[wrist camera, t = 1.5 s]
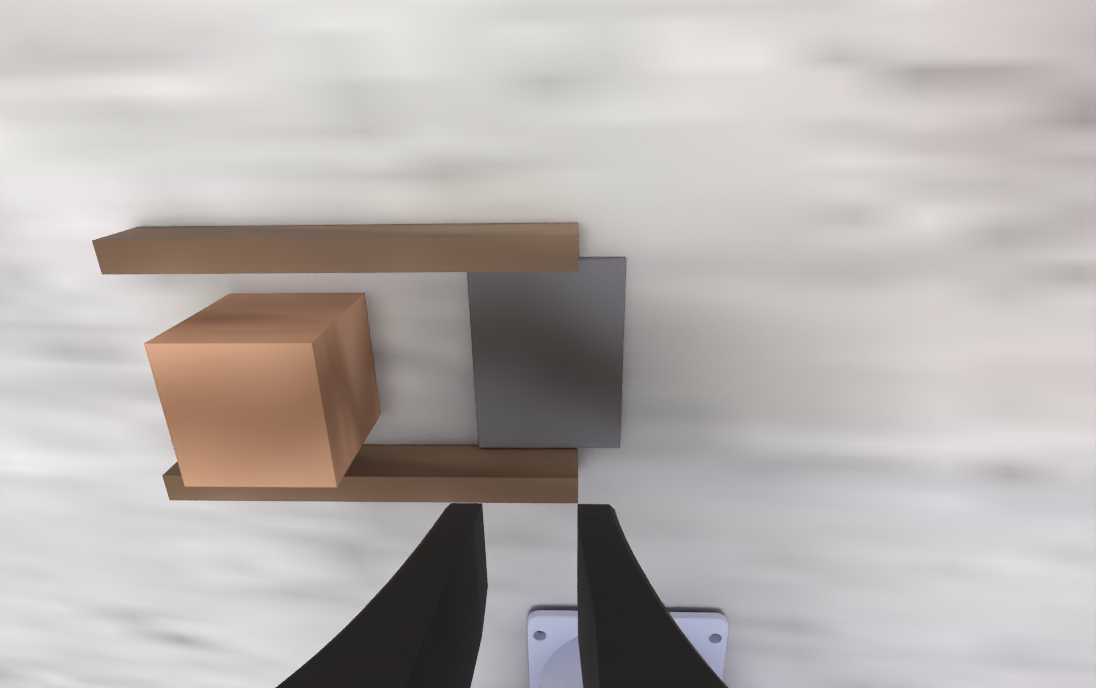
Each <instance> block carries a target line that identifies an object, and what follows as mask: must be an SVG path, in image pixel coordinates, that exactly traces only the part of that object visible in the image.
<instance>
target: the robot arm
mask: <svg viewBox="0 0 1096 688" xmlns="http://www.w3.org/2000/svg"><path fill="white" fill-rule="evenodd" d="M487 588H488V582H487V568H486V553H485V538H484V524H483V509H482V504H478V503H451V504H450V505H449V506H448V507H447V508H446V509H445V510H444V512H443V513H442V514H441V516H440V517H439V519H438V520H437V521H436V523H435V524H434V526H433V527H432V528H431V530H430V531H429V532H428V534H427V535H426V536H425V538H424V539H423V540H422V541H421V543H420V544H419V545H418V547H417V548H416V549H415V550H414V552H413V553H412V554H411V555H410V557H409V558H408V559H407V560H406V561H405V563H404V564H403V565H402V566H401V567H400V569H399V570H398V571H397V572H396V573H395V575H394V576H393V577H392V578H391V579H390V580H389V582H388V583H387V584H386V585H385V586H384V587H383V588H382V589H381V590H380V591H379V593H378V594H377V595H376V596H375V597H374V598H373V599H372V600H371V601H370V602H369V603H368V604H367V606H366V607H365V608H364V609H363V610H362V611H361V612H360V613H359V614H358V615H357V616H356V617H355V618H354V619H353V620H352V621H351V622H350V623H349V624H348V625H347V626H346V627H345V628H344V629H343V630H342V631H341V632H340V633H339V634H338V635H337V636H336V637H335V638H333V639H332V640H331V641H330V642H329V643H328V644H327V645H326V646H325V647H324V648H323V649H322V650H320V651H319V652H318V653H317V654H316V655H315V656H314V657H312V658H311V659H310V660H309V661H308V662H306V663H305V664H304V665H303V666H302V667H301V668H299V669H298V670H297V671H296V672H295V673H293V674H292V675H291V676H290V677H288V678H287V679H286V680H285V681H283V682H282V683H281V684H280V685H278V686H277V687H276V688H470V686H471V682H472V678H473V673H474V669H475V664H476V660H477V656H478V651H479V647H480V642H481V638H482V631H483V623H484V615H485V606H486V597H487ZM577 595H578V611H568V610H537V611H534V612H532V613H530V615H529V616H528V621H527V634H528V660H529V686H530V688H728V687H727V686H726V685H725V684H724V683H723V681H722V678H723V670H724V662H725V654H726V646H727V638H728V630H729V627H728V622H727V619H726V617H725V616H724V615H722V614H720V613H709V612H668V610H667V609H666V607H665V606H664V604H663V603H662V601H661V600H660V598H659V597H658V595H657V594H656V592H655V590H654V589H653V587H652V586H651V584H650V582H649V580H648V579H647V577H646V575H645V573H644V572H643V570H642V568H641V567H640V565H639V563H638V561H637V559H636V558H635V556H634V554H633V552H632V550H631V548H630V546H629V544H628V542H627V540H626V538H625V535H624V533H623V531H622V529H621V526H620V524H619V521H618V519H617V516H616V513H615V510H614V509H613V508H612V507H611V506H610V505H609V504H578V551H577ZM536 631H543V632H542V633H539V632H536ZM712 634H716V635H712Z"/></svg>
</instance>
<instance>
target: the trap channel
mask: <svg viewBox="0 0 1096 688" xmlns="http://www.w3.org/2000/svg"><path fill="white" fill-rule="evenodd" d="M92 242H93V245H94V249H95V252H96V255H97V259H98V262H99V265H100V269H101V272H102V274H228V273H375V272H467V280H468V294H469V309H470V324H471V338H472V353H473V368H474V382H475V397H476V412H477V426H478V441H479V445H362V446H361V448H360V449H359V451H358V453H357V454H356V456H355V458H354V459H353V461H352V463H351V464H350V466H349V468H348V469H347V471H346V473H345V475H344V476H343V478H342V480H341V481H340V483H339V485H338V486H337V487H188V486H185V485H184V482H183V478H182V475H181V471H180V468H179V464H178V462H176V463H175V464H174V465H173V466H172V467H171V468H170V469H169V470H168V471H167V472H166V473H165V474H164V475H162V476H163V479H164V483H165V486H166V489H167V493H168V496H169V499H170V500H210V501H343V502H475V503H578V458H577V448H620V430H621V399H622V368H623V337H624V306H625V275H626V258H625V257H578V223H491V224H389V225H287V226H185V227H136V228H133V229H129V230H126V231H123V232H119V233H116V234H113V235H109V236H106V237H103V238H99V239H96V240H93V241H92Z"/></svg>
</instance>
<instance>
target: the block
mask: <svg viewBox="0 0 1096 688" xmlns="http://www.w3.org/2000/svg"><path fill="white" fill-rule="evenodd" d="M144 345H145V348H146V352H147V355H148V359H149V362H150V366H151V369H152V373H153V377H154V380H155V384H156V387H157V391H158V394H159V398H160V401H161V405H162V408H163V412H164V415H165V419H166V422H167V426H168V429H169V433H170V436H171V440H172V443H173V447H174V450H175V454H176V457H177V461H178V464H179V468H180V471H181V475H182V478H183V482H184V485H185V486H188V487H337V486H338V485H339V483H340V481H341V480H342V478H343V476H344V475H345V473H346V471H347V469H348V468H349V466H350V464H351V463H352V461H353V459H354V458H355V456H356V454H357V453H358V451H359V449H360V448H361V446H362V444H363V443H364V441H365V439H366V438H367V436H368V434H369V433H370V431H371V429H372V428H373V426H374V424H375V423H376V421H377V419H378V418H379V416H380V414H381V413H380V405H379V398H378V390H377V383H376V376H375V368H374V361H373V353H372V346H371V338H370V331H369V323H368V316H367V309H366V301H365V294H364V293H270V294H229V295H227V296H225V297H224V298H222V299H220V300H219V301H217V302H215V303H213V304H212V305H210V306H208V307H207V308H205V309H203V310H201V311H200V312H198V313H196V314H194V315H193V316H191V317H189V318H188V319H186V320H184V321H182V322H181V323H179V324H177V325H175V326H174V327H172V328H170V329H169V330H167V331H165V332H163V333H162V334H160V335H158V336H156V337H155V338H153V339H151V340H150V341H148V342H146V343H144Z"/></svg>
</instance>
